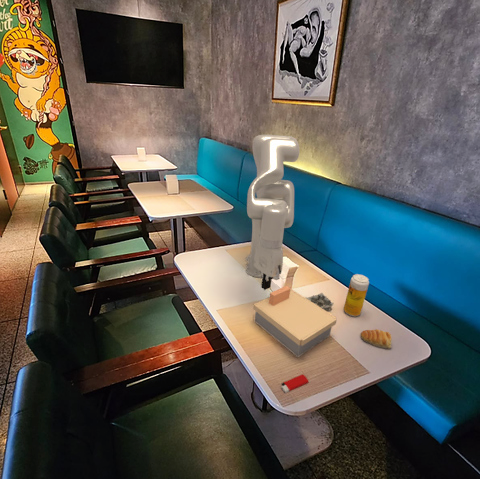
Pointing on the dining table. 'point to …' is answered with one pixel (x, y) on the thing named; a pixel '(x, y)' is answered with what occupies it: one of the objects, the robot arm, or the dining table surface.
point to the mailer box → (285, 340)
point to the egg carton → (321, 301)
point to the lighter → (294, 383)
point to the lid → (295, 315)
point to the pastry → (377, 338)
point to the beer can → (356, 295)
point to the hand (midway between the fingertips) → (265, 287)
